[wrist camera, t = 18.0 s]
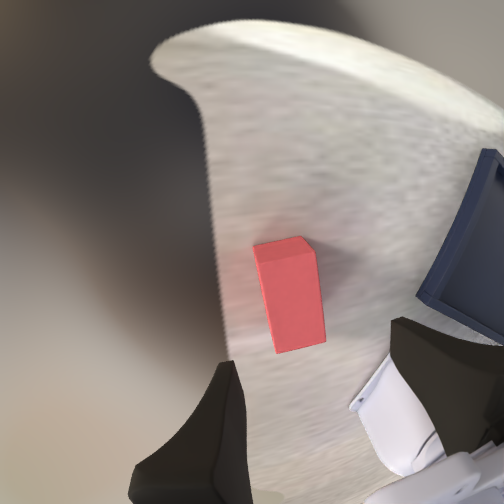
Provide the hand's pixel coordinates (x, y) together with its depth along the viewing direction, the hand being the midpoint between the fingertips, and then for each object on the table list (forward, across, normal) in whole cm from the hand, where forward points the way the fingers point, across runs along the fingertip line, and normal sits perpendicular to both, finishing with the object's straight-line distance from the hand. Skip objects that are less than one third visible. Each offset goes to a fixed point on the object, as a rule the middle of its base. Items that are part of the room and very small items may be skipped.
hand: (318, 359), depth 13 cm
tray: (+8, -22, +4) cm, 24 cm away
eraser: (+8, 0, 0) cm, 8 cm away
